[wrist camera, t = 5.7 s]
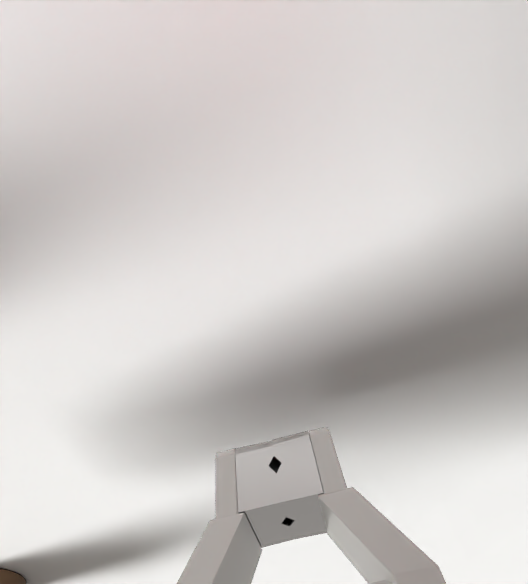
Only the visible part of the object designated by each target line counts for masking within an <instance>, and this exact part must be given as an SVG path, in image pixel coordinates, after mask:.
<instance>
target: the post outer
mask: <svg viewBox="0 0 528 584" xmlns="http://www.w3.org/2000/svg"><path fill="white" fill-rule="evenodd" d="M0 584H26V580H25V579H24V578H23V577H22V576H21V575H19V574H17V573H15V572H12V571H8V570H3V569H0Z"/></svg>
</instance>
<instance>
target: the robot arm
mask: <svg viewBox="0 0 528 584" xmlns="http://www.w3.org/2000/svg"><path fill="white" fill-rule="evenodd" d="M309 436H310V437H309ZM323 533H327V534H328V535H329V537H330V538H331V539H332V540H333V541H334V543H335V544H336V545H337V546H338V547H339V549H340V550H341V551H342V552H343V554H344V555H345V556H346V557H347V558H348V560H349V561H350V562H351V563H352V564H353V566H354V567H355V568H356V569H357V570H358V572H359V573H360V574H361V575H362V576H363V578H364V579H365V580H366V581H367V582H368V584H446V582H445V580H444V578H443V575H442V573H441V571H440V569H439V566H438V565H437V564H436V563H435V562H433V561H432V560H431V559H430V558H429V557H428V556H427V555H426V554H425V553H424V552H423V551H422V550H420V549H419V548H418V547H417V546H416V545H415V544H414V543H413V542H412V541H411V540H410V539H409V538H407V537H406V536H405V535H404V534H403V533H402V532H401V531H400V530H399V529H398V528H397V527H396V526H395V525H393V524H392V523H391V522H390V521H389V520H388V519H387V518H386V517H385V516H384V515H383V514H382V513H380V512H379V511H378V510H377V509H376V508H375V507H374V506H373V505H372V504H371V503H370V502H369V501H367V500H366V499H365V498H364V497H363V496H362V495H361V494H360V493H359V492H358V491H357V490H356V489H354V488H353V487H351V488H347V486H346V483H345V480H344V477H343V473H342V470H341V467H340V464H339V461H338V457H337V454H336V451H335V448H334V444H333V441H332V438H331V435H330V432H329V429H328V428H327V427H323V428H320V429H316V430H312V431H309V433H308V431H305V432H301V433H297V434H293V435H289V436H285V437H281V438H278V439H274V440H272V441H267V442H263V443H258V444H254V445H249V446H245V447H240V448H235V449H230V450H226V451H222V452H218V453H217V455H216V459H215V519H213V520H210V521H209V523H208V525H207V527H206V529H205V530H204V532H203V534H202V536H201V538H200V540H199V542H198V544H197V546H196V548H195V550H194V552H193V554H192V555H191V557H190V559H189V561H188V563H187V565H186V567H185V569H184V571H183V573H182V575H181V577H180V579H179V580H178V582H177V584H251V582H252V579H253V576H254V573H255V570H256V567H257V564H258V561H259V558H260V555H261V552H262V549H261V548H262V547H266V546H270V545H274V544H278V543H281V542H285V541H289V540H293V539H298V538H303V537H308V536H313V535H318V534H323Z"/></svg>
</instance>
